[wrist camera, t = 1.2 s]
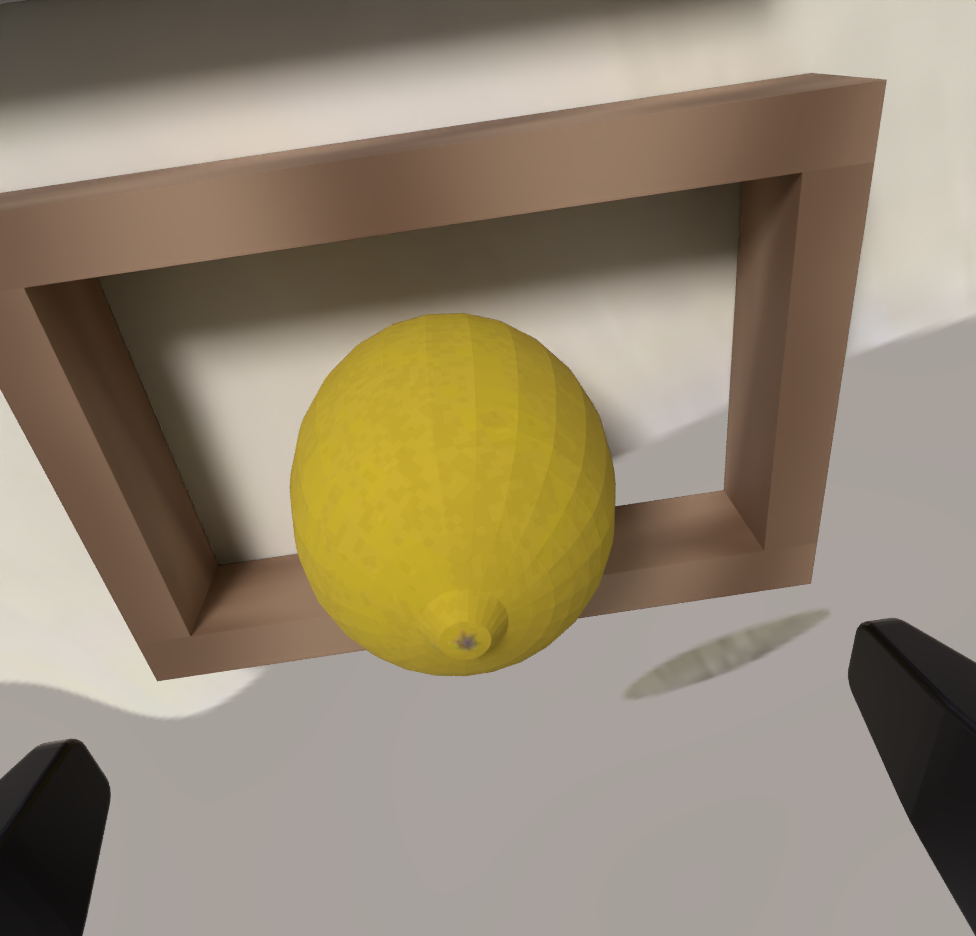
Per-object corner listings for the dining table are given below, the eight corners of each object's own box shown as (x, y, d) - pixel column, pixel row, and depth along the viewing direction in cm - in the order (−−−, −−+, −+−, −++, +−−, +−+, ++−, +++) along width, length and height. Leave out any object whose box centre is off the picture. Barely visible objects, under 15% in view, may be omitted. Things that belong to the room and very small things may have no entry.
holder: (811, 72, 13) (886, 79, 11) (766, 521, 19) (810, 583, 17) (-6, 193, 13) (-89, 223, 11) (187, 607, 19) (157, 681, 16)
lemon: (599, 438, 17) (718, 707, 10) (389, 519, 18) (369, 820, 11) (517, 218, 14) (606, 384, 7) (273, 324, 15) (147, 566, 8)
